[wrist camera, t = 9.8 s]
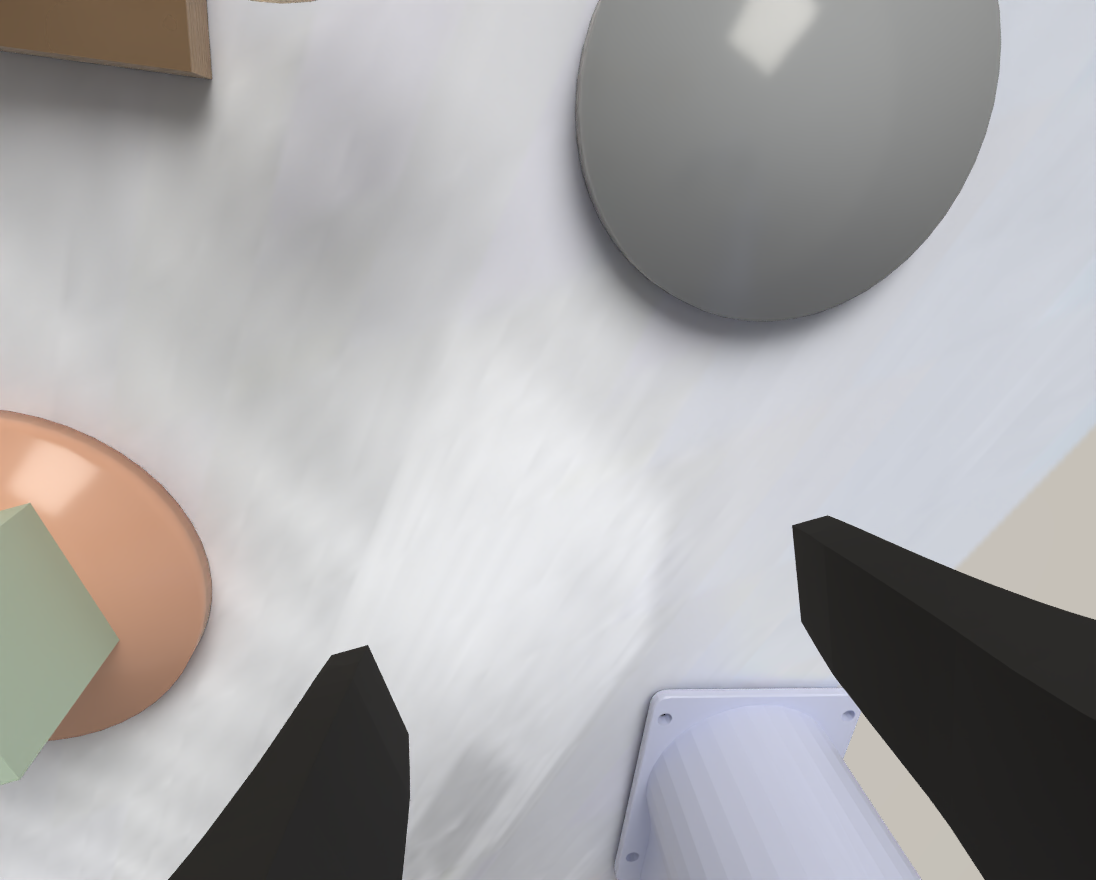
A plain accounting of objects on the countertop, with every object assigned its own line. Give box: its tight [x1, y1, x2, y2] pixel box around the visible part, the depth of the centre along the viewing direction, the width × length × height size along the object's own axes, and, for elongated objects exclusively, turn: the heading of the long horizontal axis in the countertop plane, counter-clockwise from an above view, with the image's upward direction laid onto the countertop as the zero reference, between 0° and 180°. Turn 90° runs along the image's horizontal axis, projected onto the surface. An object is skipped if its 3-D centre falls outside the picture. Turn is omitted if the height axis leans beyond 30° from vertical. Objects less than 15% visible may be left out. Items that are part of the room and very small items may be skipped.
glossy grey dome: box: [575, 0, 1001, 321], centre depth 15 cm, size 10×10×1 cm
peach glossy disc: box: [0, 410, 212, 741], centre depth 17 cm, size 10×10×1 cm
